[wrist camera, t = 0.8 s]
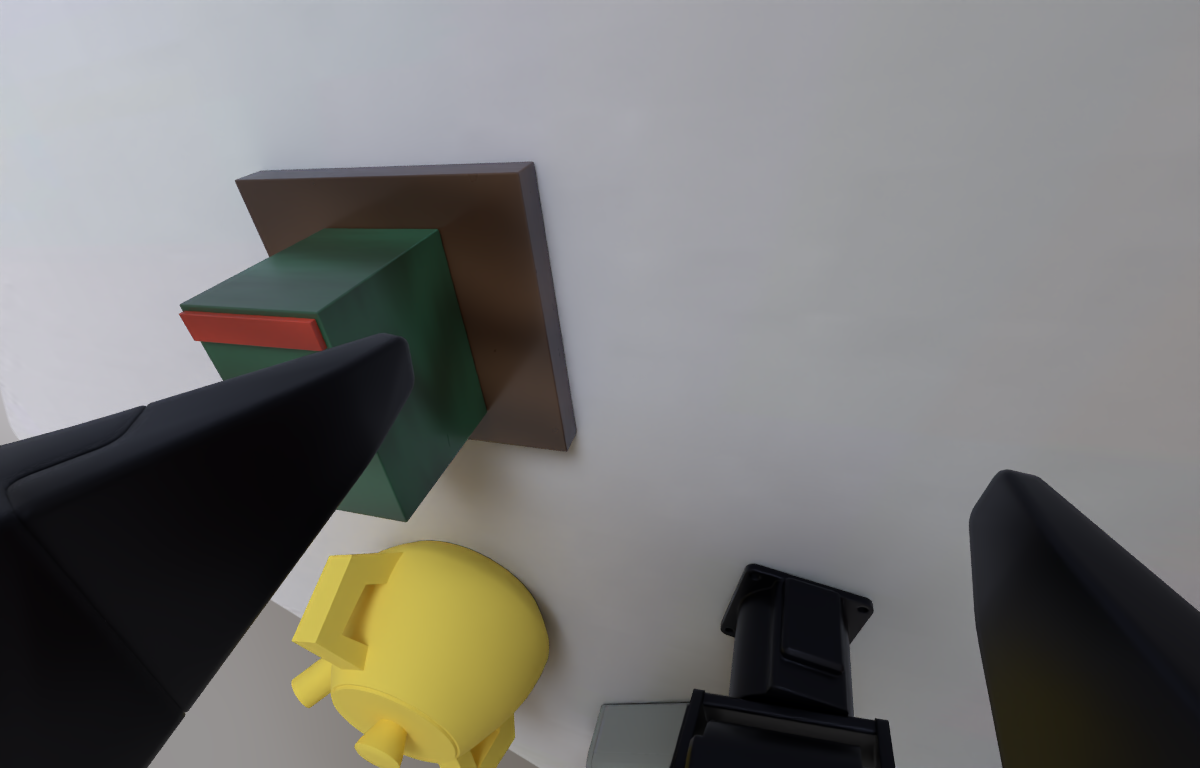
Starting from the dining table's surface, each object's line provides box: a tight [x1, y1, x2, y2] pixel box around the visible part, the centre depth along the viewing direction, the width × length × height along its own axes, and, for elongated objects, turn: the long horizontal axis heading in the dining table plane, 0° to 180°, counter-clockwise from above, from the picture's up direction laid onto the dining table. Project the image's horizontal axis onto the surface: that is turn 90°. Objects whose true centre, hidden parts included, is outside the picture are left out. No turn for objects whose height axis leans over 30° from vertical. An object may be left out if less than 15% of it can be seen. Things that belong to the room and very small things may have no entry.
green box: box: [179, 228, 487, 522], centre depth 22 cm, size 9×6×7 cm, turn 6°
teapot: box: [292, 541, 549, 768], centre depth 37 cm, size 20×18×11 cm
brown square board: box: [235, 162, 576, 452], centre depth 26 cm, size 13×13×2 cm
